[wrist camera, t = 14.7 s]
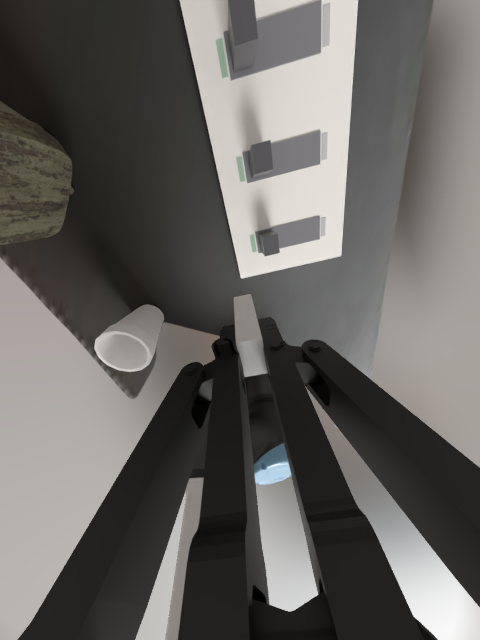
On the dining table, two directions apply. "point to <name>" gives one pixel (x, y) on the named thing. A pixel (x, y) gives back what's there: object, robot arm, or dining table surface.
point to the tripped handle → (260, 159)
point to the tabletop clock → (31, 180)
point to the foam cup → (131, 339)
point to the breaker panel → (279, 123)
